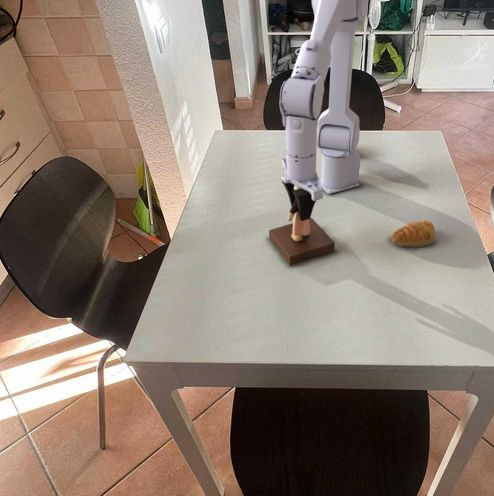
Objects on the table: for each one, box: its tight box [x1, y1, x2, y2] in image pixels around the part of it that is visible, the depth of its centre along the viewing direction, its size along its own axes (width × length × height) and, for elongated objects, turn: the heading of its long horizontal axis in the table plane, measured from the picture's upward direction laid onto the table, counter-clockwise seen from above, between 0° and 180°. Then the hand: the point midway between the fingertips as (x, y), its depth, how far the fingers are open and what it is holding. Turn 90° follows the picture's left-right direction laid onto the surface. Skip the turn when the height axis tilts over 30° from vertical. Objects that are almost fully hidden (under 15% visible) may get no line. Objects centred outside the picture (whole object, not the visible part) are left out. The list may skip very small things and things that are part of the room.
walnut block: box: [268, 217, 336, 267], centre depth 96 cm, size 11×11×2 cm
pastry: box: [391, 219, 437, 248], centre depth 96 cm, size 9×7×4 cm
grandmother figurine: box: [286, 185, 310, 241], centre depth 90 cm, size 8×4×13 cm, turn 149°
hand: (301, 214), depth 91 cm, fingers closed on grandmother figurine, 3 cm apart
